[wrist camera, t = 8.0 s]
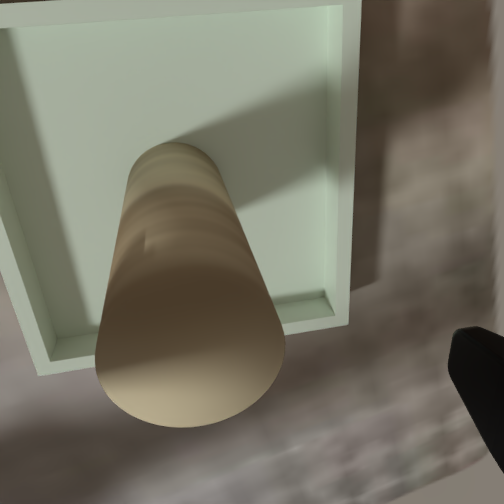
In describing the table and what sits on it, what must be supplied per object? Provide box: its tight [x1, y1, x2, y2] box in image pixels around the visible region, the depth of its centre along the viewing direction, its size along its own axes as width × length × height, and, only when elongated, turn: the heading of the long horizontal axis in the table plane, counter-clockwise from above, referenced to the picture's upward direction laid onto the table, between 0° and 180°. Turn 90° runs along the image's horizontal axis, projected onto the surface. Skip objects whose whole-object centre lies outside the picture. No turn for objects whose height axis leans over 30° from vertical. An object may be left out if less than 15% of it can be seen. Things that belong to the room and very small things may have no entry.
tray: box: [0, 0, 362, 376], centre depth 17 cm, size 13×13×2 cm
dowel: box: [95, 142, 285, 427], centre depth 13 cm, size 4×4×10 cm
